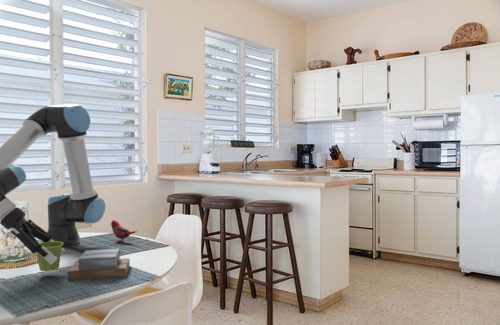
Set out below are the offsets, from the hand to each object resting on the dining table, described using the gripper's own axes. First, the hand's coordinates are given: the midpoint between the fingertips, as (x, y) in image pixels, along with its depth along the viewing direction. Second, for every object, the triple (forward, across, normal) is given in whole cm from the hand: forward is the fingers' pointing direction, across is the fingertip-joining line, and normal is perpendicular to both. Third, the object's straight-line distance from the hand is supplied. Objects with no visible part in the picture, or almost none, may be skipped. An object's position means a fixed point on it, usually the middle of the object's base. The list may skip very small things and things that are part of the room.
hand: (58, 257), depth 144 cm
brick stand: (+14, 0, +5) cm, 15 cm away
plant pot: (+1, 0, -5) cm, 5 cm away
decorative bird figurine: (+17, -47, +7) cm, 51 cm away
